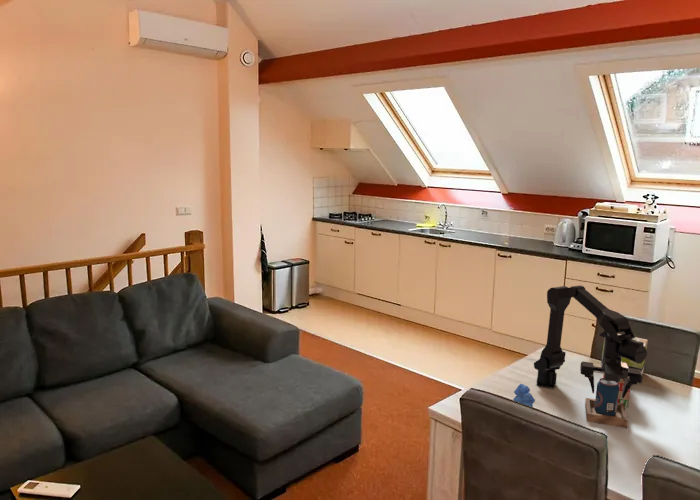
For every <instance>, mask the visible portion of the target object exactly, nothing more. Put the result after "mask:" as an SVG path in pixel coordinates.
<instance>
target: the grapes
mask: <svg viewBox="0 0 700 500" xmlns="http://www.w3.org/2000/svg"><path fill="white" fill-rule="evenodd" d="M530 391H531V389H530V387H528V385H525V384H523V383H519V384H518V385H517V387H516V389H515V390H514V391H513V393H514V394H515V396H514V398H513V400H514V401H516V402H519V403H521V404H524V405H527V406H530V407H532V408H533V407H534V405H533V404H534V403H535V402H536V399H535V397H534V396H533V395H532V394H531V393H530ZM514 401H513V402H514Z"/></svg>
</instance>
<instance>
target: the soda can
mask: <svg viewBox="0 0 700 500" xmlns="http://www.w3.org/2000/svg"><path fill="white" fill-rule="evenodd" d="M595 392H596V393H595V398H594V399H595V407H594V409H595V411H596V413H597V414H602V415H608V416H613V417H614V416H615V415H616V413H617V404H618V396H619V386H618V382H615V381H606V380H605V379H604V378H603V377H602V378H600V379H599V381H597V384H596V391H595Z"/></svg>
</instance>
